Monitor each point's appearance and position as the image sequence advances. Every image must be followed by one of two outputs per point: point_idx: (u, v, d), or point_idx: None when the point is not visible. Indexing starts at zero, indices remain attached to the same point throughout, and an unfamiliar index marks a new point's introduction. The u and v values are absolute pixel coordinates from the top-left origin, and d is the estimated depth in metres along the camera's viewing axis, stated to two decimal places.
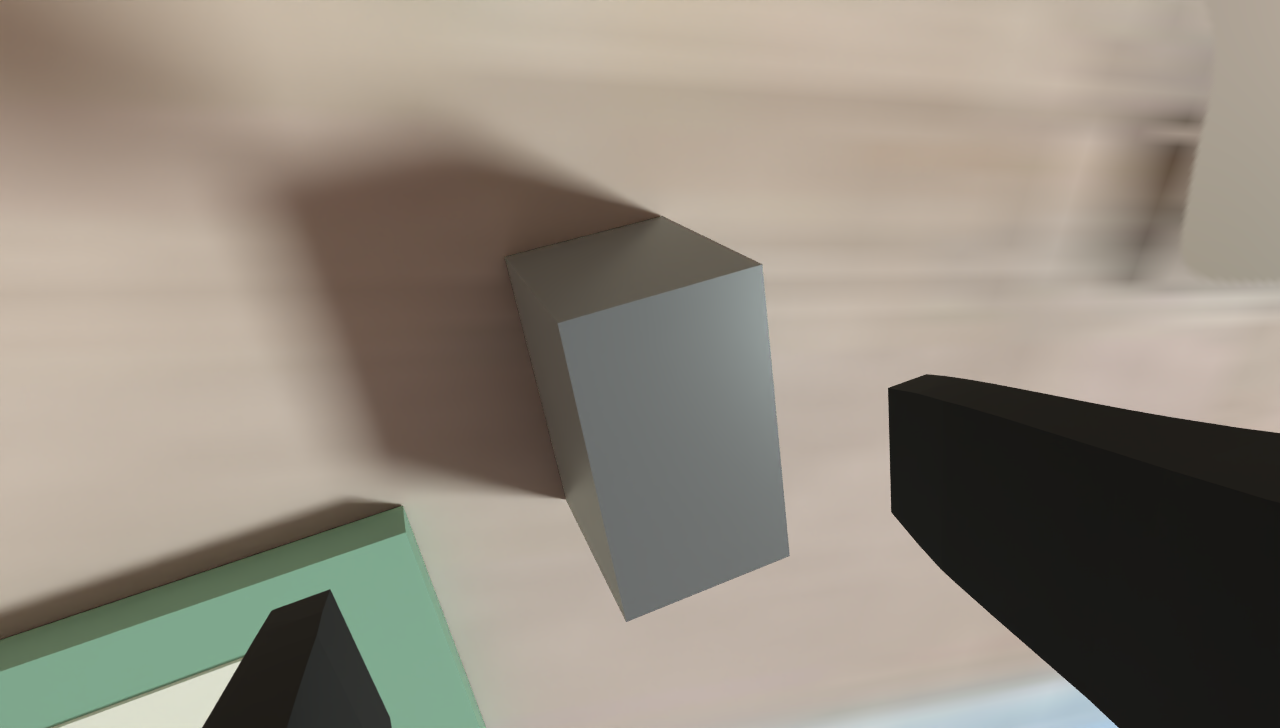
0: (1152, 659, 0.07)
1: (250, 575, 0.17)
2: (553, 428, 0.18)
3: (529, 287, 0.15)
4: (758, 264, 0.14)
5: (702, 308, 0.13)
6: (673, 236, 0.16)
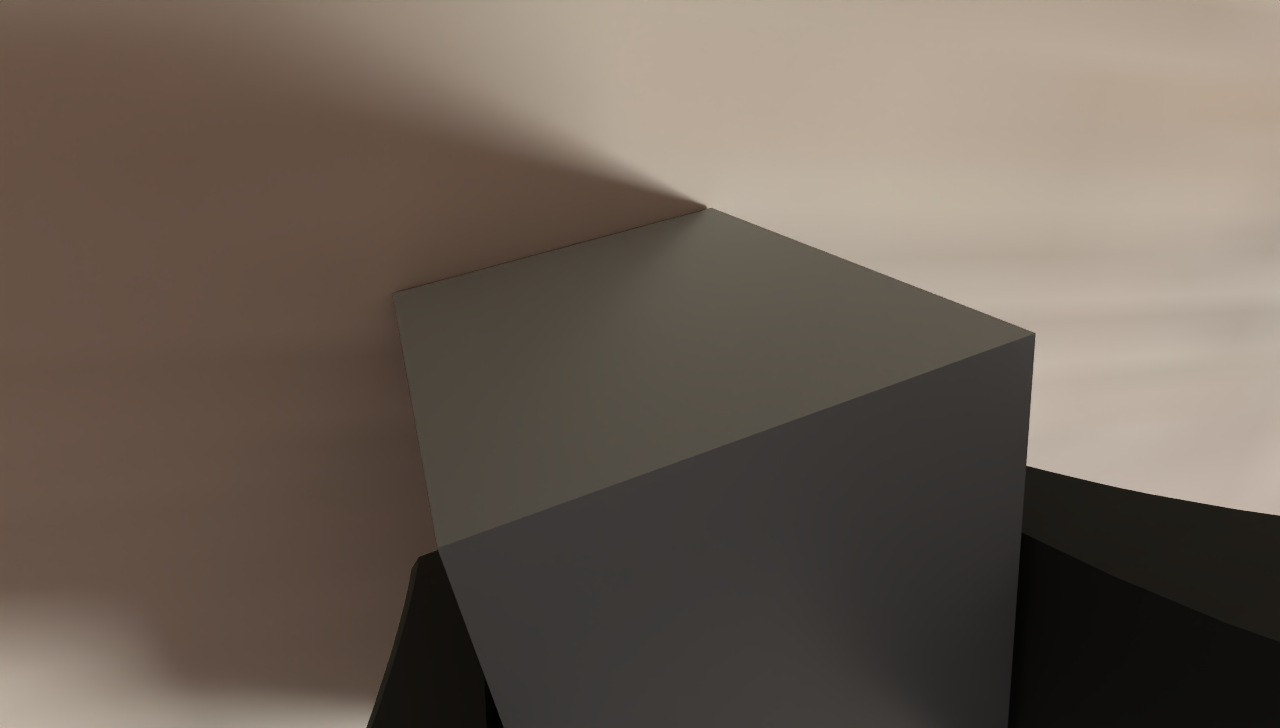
0: (1024, 726, 0.07)
1: None
2: None
3: (409, 382, 0.06)
4: (1022, 333, 0.05)
5: (873, 462, 0.05)
6: (746, 249, 0.07)
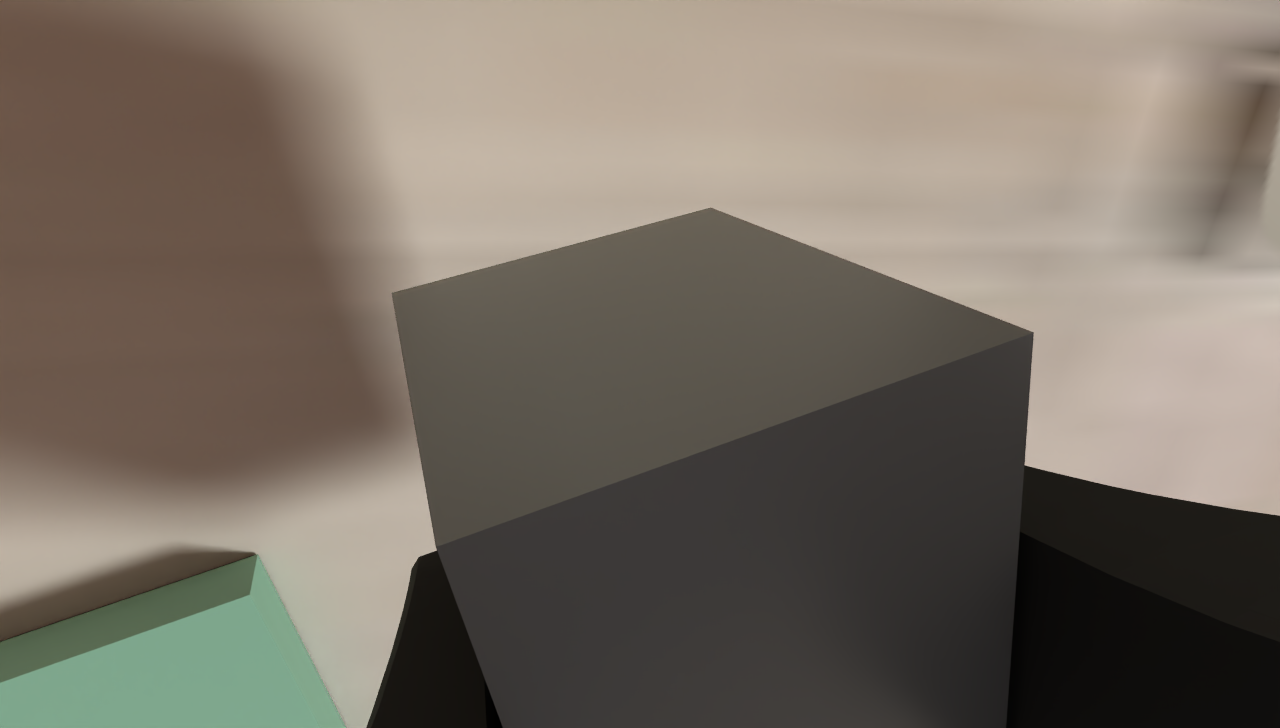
0: (1024, 727, 0.07)
1: (28, 658, 0.12)
2: None
3: (408, 381, 0.06)
4: (1021, 332, 0.05)
5: (871, 460, 0.05)
6: (745, 249, 0.07)
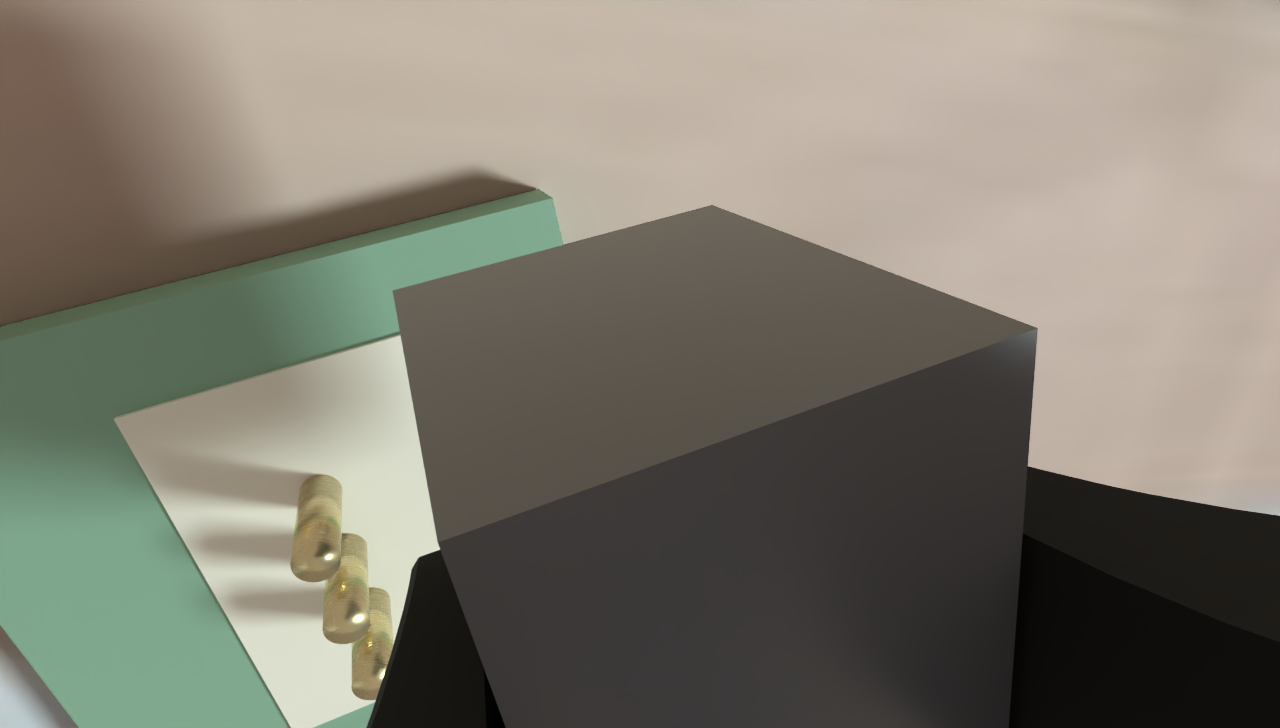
0: (1024, 727, 0.07)
1: (369, 240, 0.14)
2: None
3: (409, 378, 0.06)
4: (1024, 328, 0.05)
5: (874, 456, 0.05)
6: (747, 246, 0.07)
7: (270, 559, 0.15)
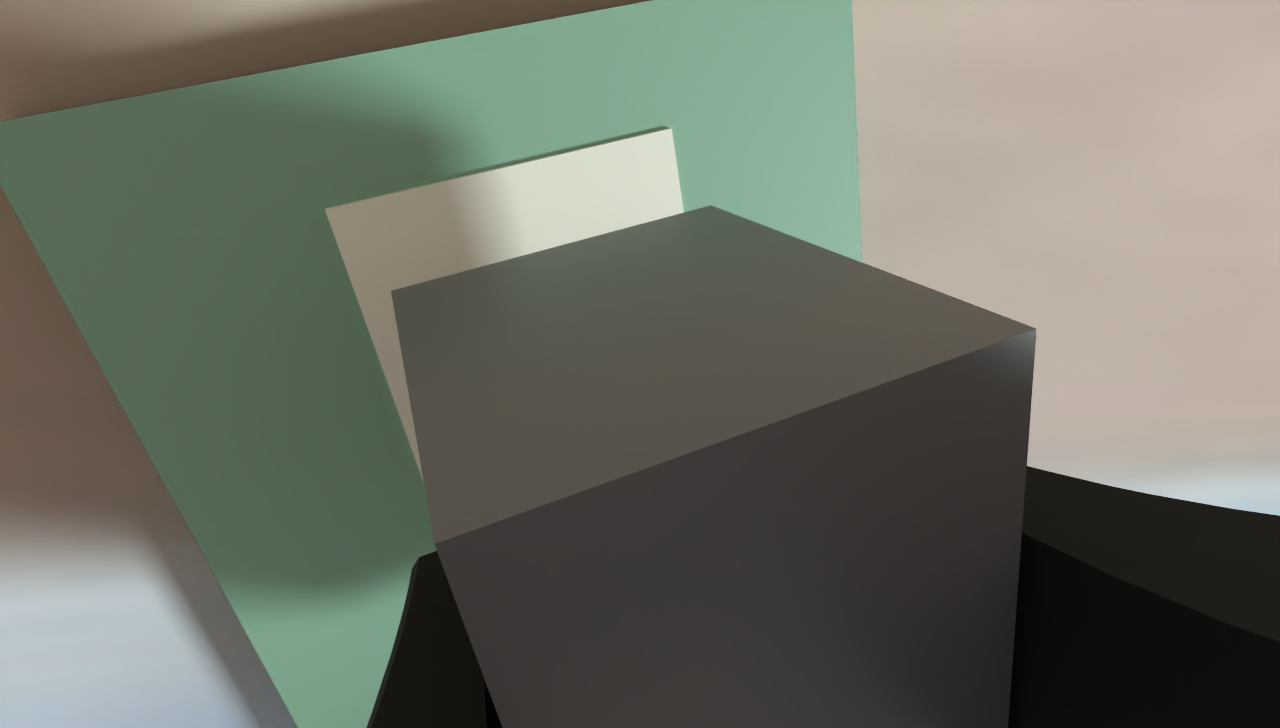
0: (1024, 726, 0.07)
1: None
2: None
3: (407, 378, 0.06)
4: (1024, 328, 0.05)
5: (873, 458, 0.05)
6: (746, 246, 0.07)
7: None
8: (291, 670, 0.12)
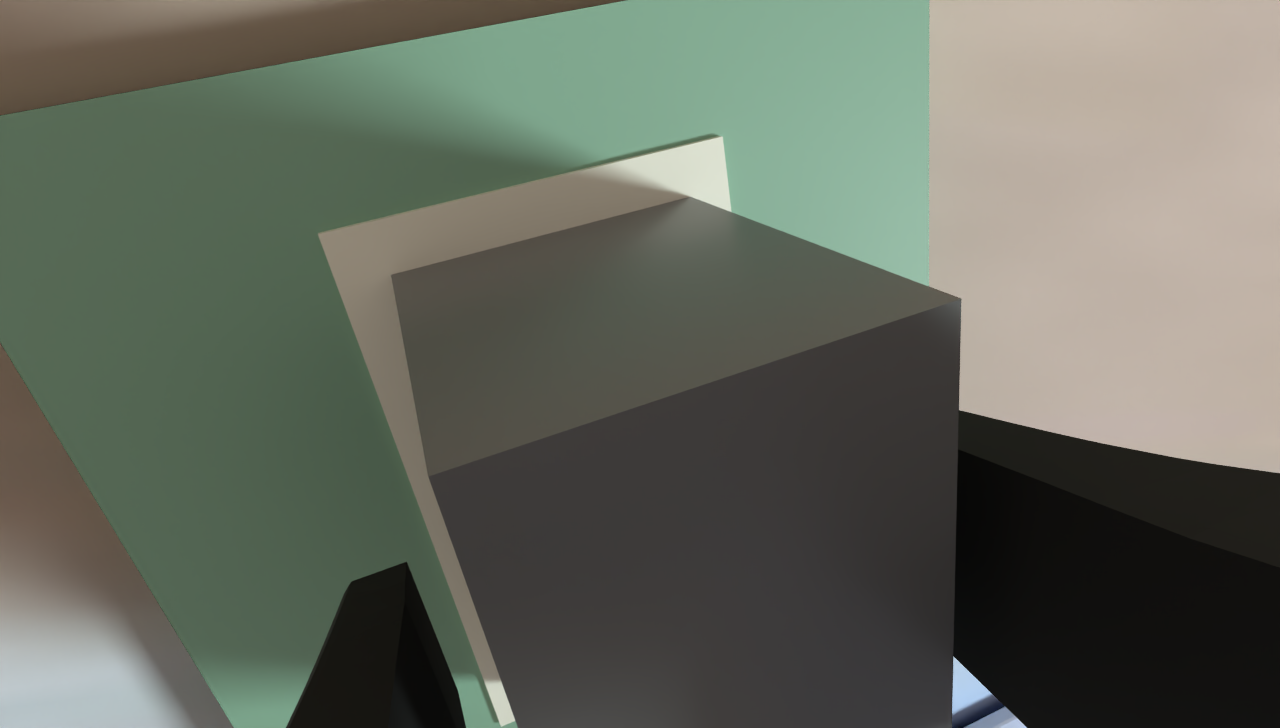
0: (1087, 694, 0.07)
1: None
2: None
3: (406, 348, 0.06)
4: (950, 298, 0.05)
5: (815, 413, 0.05)
6: (718, 232, 0.08)
7: None
8: None
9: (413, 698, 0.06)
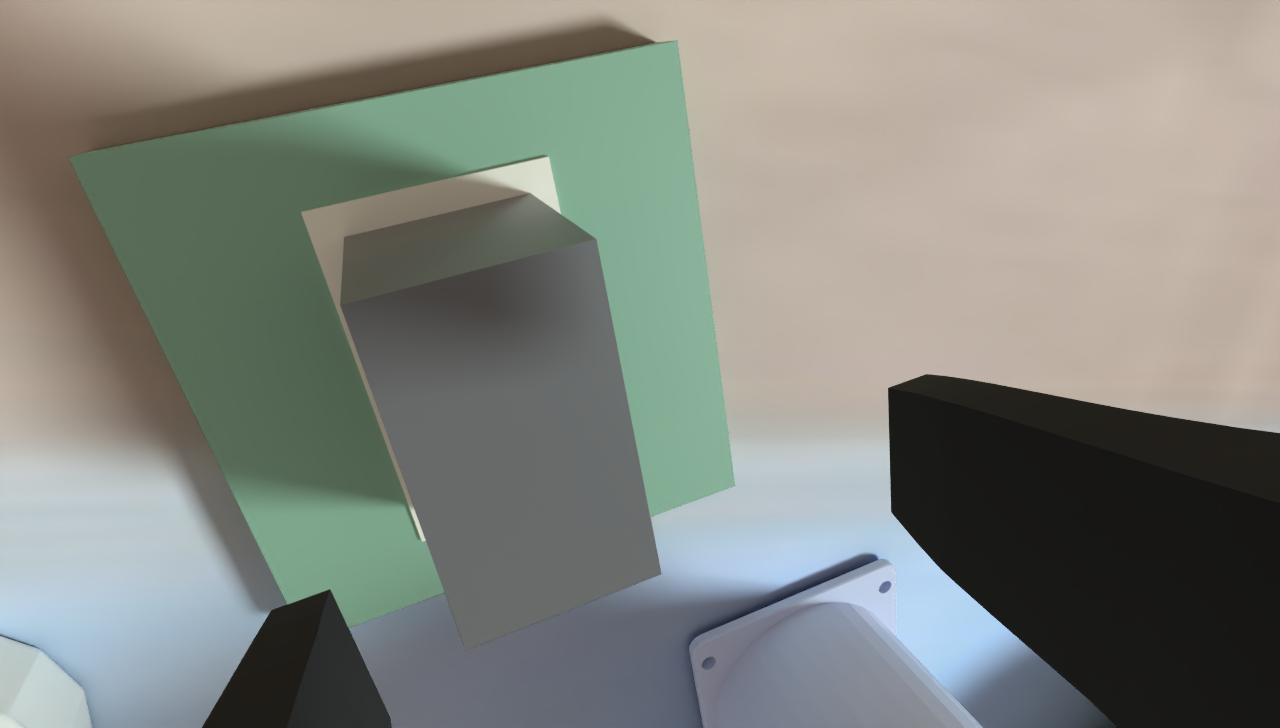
0: (1152, 659, 0.07)
1: (519, 70, 0.15)
2: None
3: (343, 267, 0.13)
4: (592, 239, 0.12)
5: (525, 290, 0.12)
6: (526, 212, 0.14)
7: None
8: (276, 547, 0.17)
9: None
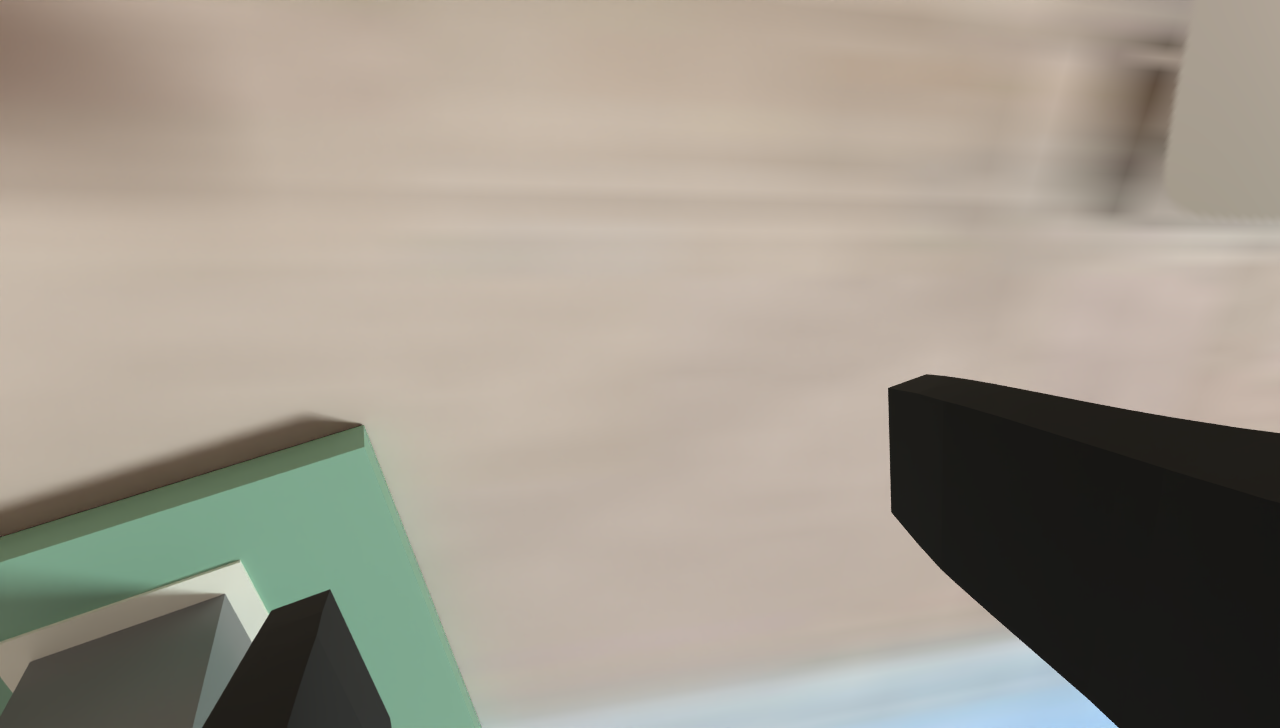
0: (1152, 659, 0.07)
1: (204, 489, 0.16)
2: None
3: None
4: None
5: None
6: (185, 659, 0.15)
7: None
8: None
9: None
